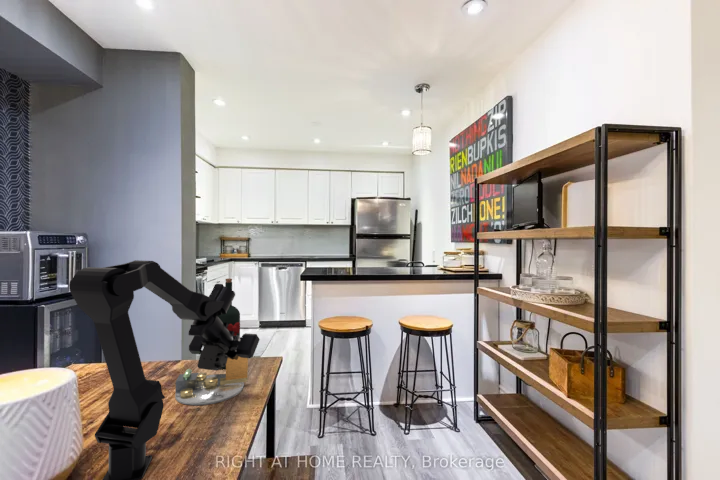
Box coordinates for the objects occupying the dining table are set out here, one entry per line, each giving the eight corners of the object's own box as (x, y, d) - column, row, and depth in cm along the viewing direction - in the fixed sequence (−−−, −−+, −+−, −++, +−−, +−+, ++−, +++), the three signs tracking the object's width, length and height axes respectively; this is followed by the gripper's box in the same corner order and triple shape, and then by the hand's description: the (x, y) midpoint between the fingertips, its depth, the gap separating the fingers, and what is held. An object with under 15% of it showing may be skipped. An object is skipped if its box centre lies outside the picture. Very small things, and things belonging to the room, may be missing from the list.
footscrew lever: (203, 388, 93) (203, 353, 93) (204, 383, 96) (205, 349, 96) (247, 382, 97) (248, 348, 97) (247, 377, 101) (247, 345, 101)
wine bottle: (224, 373, 107) (225, 281, 107) (211, 365, 114) (212, 278, 114) (247, 367, 113) (248, 279, 113) (233, 359, 120) (234, 276, 120)
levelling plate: (242, 400, 90) (242, 379, 90) (167, 409, 84) (168, 387, 84) (244, 374, 107) (245, 357, 107) (182, 380, 101) (183, 362, 101)
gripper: (164, 356, 82) (193, 382, 93) (232, 361, 79) (254, 388, 89) (187, 317, 90) (212, 346, 101) (249, 321, 87) (268, 350, 97)
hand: (235, 358), depth 97 cm, fingers closed
